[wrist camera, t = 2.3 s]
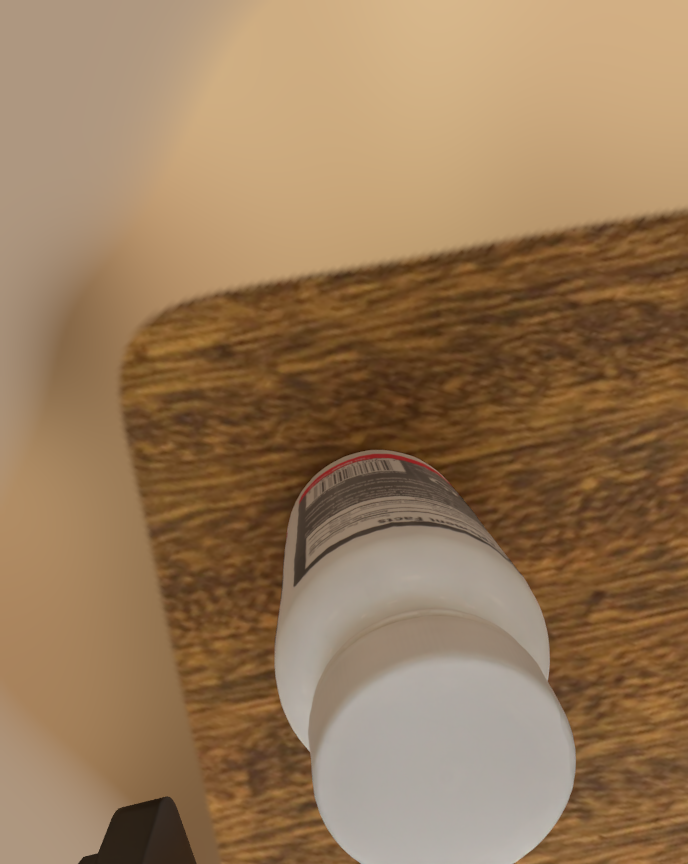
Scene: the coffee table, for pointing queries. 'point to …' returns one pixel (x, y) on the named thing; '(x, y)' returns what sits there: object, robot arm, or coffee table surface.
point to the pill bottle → (417, 671)
